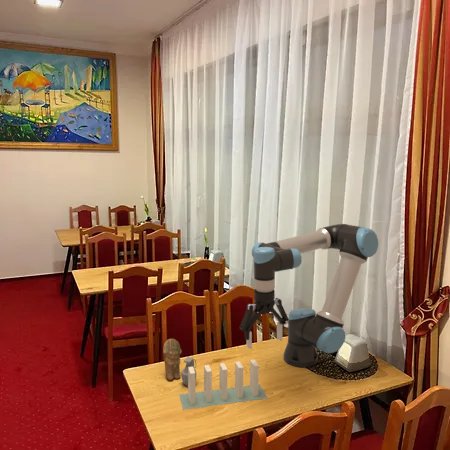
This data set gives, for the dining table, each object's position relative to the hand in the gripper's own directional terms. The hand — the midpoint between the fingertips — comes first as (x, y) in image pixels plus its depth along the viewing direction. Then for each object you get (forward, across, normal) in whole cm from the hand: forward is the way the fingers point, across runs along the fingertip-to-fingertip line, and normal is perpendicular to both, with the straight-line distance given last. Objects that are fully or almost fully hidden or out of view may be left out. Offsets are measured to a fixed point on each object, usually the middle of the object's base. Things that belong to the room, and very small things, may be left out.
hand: (264, 343), depth 160 cm
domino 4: (+19, +10, -2) cm, 22 cm away
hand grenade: (+19, +24, -18) cm, 36 cm away
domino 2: (+19, +22, -5) cm, 29 cm away
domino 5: (+19, +4, -1) cm, 20 cm away
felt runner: (+19, +16, -3) cm, 25 cm away
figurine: (+19, +27, -26) cm, 43 cm away
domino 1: (+18, +28, -6) cm, 34 cm away
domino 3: (+19, +16, -3) cm, 25 cm away
